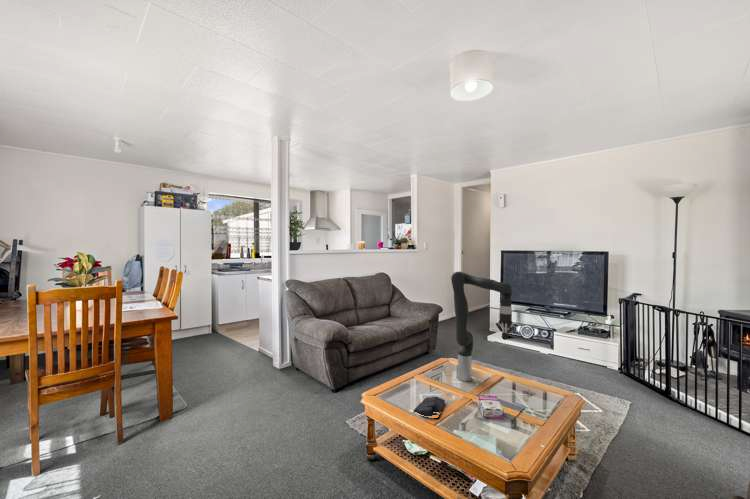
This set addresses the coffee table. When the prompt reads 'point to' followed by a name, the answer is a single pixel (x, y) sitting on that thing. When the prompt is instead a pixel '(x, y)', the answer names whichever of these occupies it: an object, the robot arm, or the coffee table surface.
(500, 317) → the robot arm
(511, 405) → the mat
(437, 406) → the dark slate chunk
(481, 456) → the coffee table surface
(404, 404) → the coffee table surface
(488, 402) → the candy bar box
